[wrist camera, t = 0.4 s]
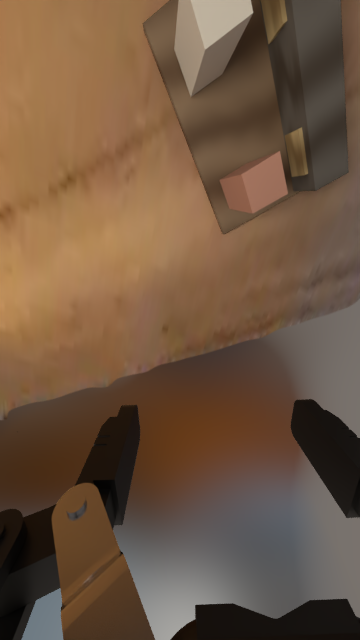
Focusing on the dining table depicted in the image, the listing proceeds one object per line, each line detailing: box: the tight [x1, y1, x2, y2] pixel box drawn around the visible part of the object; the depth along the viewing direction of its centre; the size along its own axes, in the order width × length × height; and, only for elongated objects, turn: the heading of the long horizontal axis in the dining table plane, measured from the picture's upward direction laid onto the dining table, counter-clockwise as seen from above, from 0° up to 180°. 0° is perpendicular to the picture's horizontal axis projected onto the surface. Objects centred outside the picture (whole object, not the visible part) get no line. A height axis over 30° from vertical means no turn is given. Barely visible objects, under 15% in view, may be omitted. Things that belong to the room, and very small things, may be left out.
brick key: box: [220, 151, 288, 214], centre depth 25 cm, size 4×4×9 cm
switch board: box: [143, 0, 348, 234], centre depth 23 cm, size 23×16×6 cm
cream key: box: [174, 0, 253, 97], centre depth 18 cm, size 4×4×9 cm
